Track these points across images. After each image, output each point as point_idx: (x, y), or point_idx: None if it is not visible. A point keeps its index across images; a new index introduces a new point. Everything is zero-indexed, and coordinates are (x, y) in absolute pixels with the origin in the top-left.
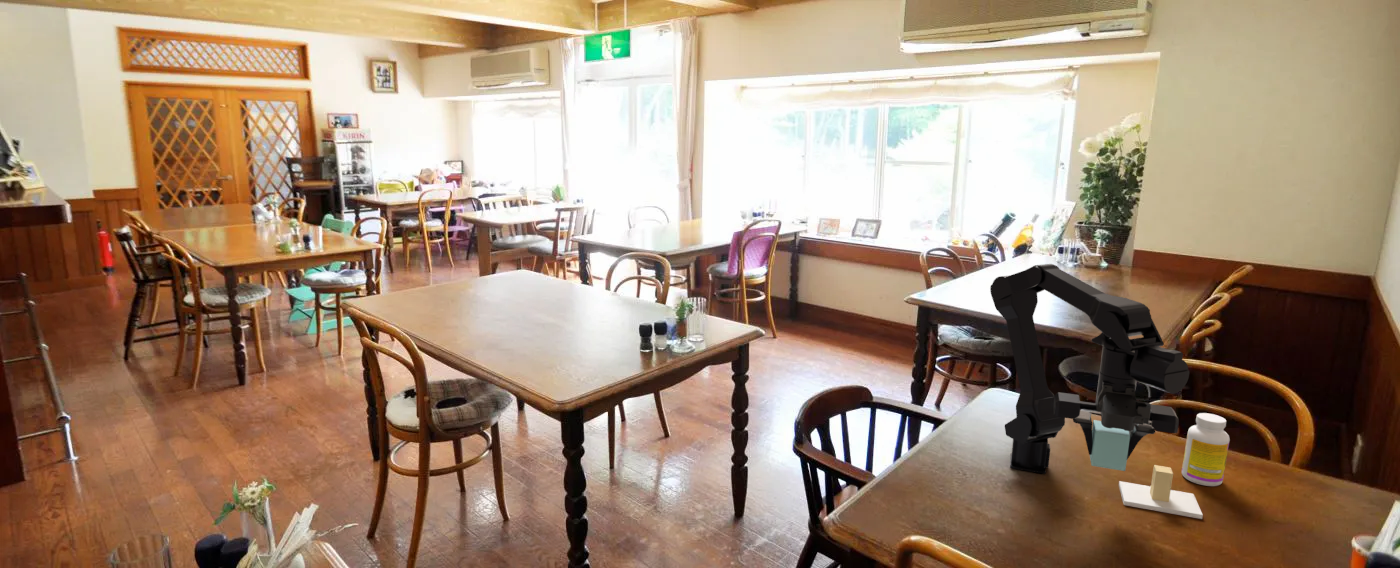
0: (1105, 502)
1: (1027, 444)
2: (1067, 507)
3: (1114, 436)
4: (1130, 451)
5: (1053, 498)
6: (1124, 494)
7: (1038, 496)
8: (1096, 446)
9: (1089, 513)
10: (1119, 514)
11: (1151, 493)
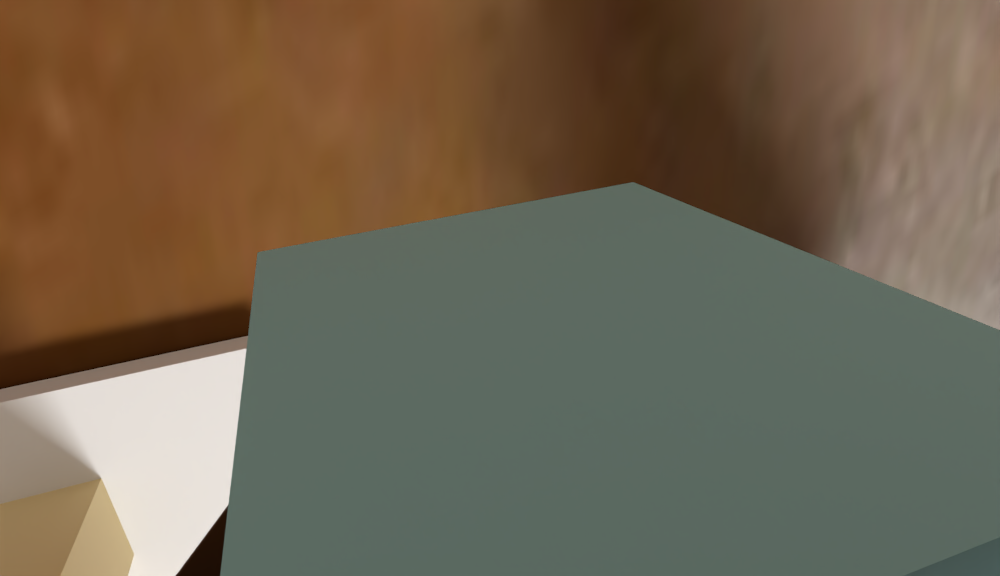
0: None
1: None
2: (574, 94)
3: (714, 534)
4: (219, 551)
5: (646, 170)
6: None
7: (720, 147)
8: (799, 269)
9: (449, 85)
10: (271, 182)
11: (110, 526)
